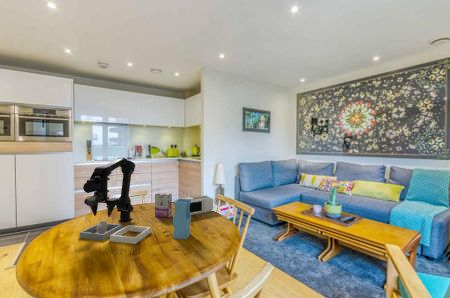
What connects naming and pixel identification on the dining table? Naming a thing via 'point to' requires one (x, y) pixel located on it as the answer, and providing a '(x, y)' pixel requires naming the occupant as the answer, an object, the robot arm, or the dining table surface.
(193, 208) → the alarm clock
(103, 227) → the grey rounded lumpy piece
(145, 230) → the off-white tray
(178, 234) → the vase
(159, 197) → the candy bar box
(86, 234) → the grey square frame
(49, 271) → the dining table surface
